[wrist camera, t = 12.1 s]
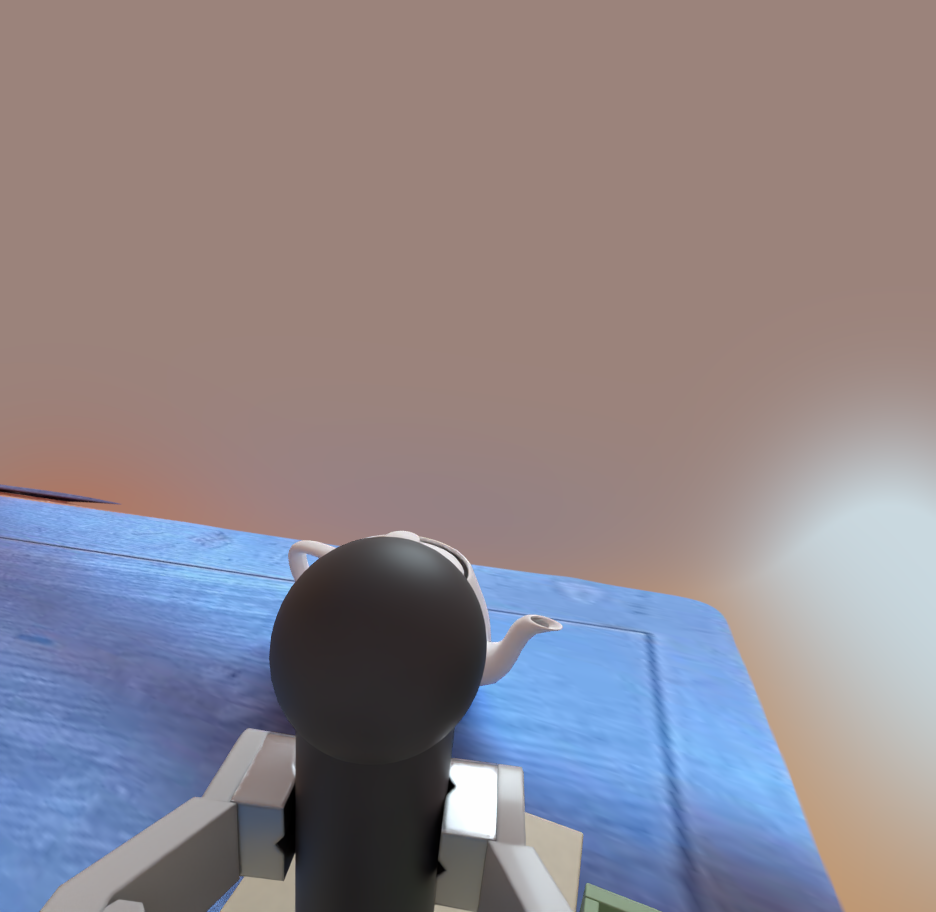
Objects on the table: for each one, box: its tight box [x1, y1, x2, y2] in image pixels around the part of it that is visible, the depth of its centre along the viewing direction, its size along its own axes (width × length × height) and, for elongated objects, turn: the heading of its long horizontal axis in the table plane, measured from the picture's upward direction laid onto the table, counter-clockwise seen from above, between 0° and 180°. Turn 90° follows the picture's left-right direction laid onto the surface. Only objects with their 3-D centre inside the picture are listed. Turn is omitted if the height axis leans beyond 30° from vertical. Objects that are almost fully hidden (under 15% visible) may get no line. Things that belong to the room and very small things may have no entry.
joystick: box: [220, 537, 583, 912], centre depth 10 cm, size 13×9×13 cm
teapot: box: [288, 531, 563, 686], centre depth 36 cm, size 22×14×11 cm, turn 61°
